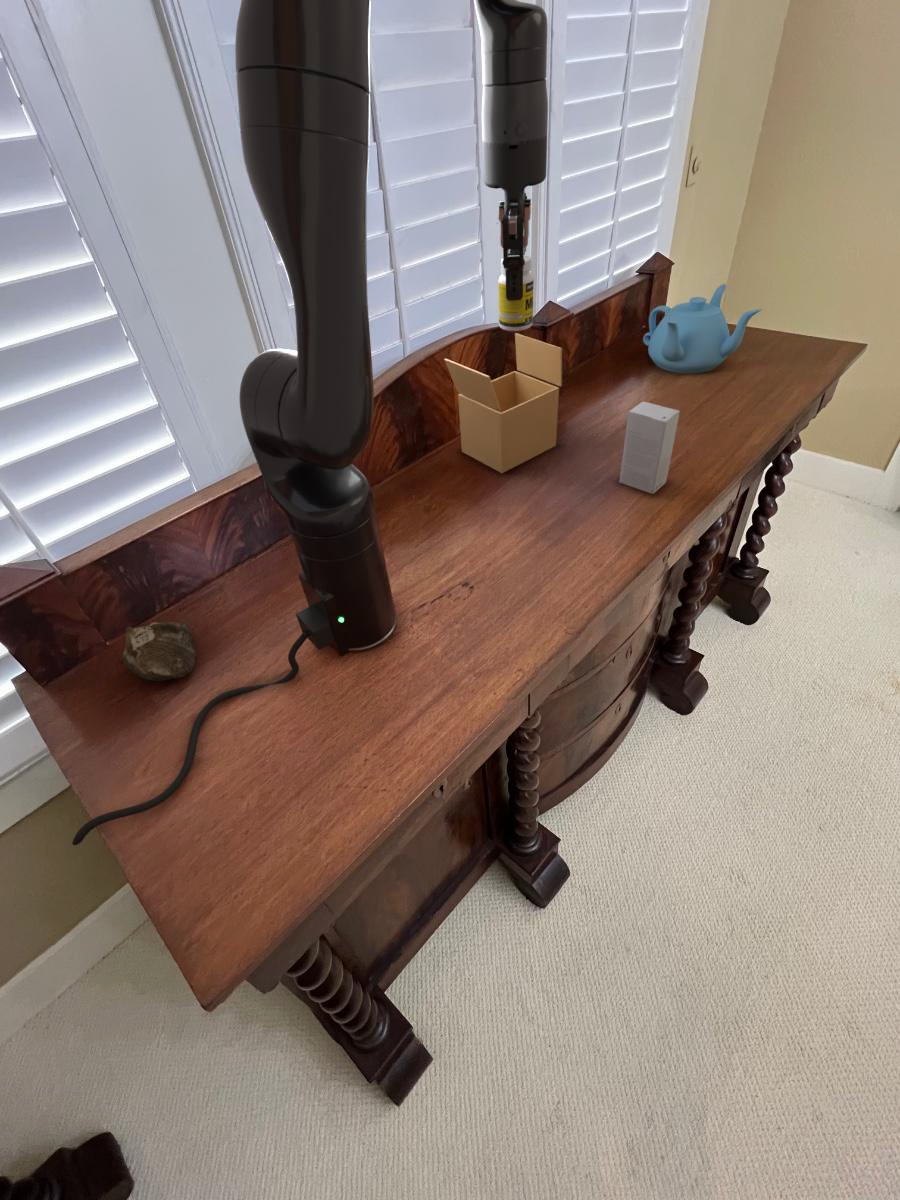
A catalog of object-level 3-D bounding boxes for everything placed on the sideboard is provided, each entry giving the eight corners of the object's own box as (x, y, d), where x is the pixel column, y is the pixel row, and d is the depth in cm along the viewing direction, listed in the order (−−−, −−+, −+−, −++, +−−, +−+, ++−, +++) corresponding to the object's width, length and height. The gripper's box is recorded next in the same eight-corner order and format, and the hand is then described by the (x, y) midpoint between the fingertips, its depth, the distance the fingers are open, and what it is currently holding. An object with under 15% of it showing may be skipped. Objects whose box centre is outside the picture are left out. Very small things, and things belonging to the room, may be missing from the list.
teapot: (748, 372, 117) (766, 307, 109) (657, 383, 117) (669, 318, 108) (711, 342, 130) (725, 281, 121) (629, 351, 129) (637, 291, 121)
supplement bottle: (530, 332, 80) (531, 263, 74) (496, 332, 81) (495, 264, 75) (534, 319, 84) (535, 253, 78) (501, 320, 84) (500, 254, 79)
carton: (501, 473, 96) (500, 373, 85) (461, 451, 103) (455, 356, 91) (558, 444, 102) (564, 347, 91) (517, 425, 108) (518, 332, 97)
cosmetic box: (666, 483, 91) (681, 410, 83) (652, 495, 89) (666, 422, 81) (631, 471, 94) (643, 400, 86) (617, 482, 92) (627, 410, 84)
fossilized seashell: (118, 631, 72) (119, 699, 66) (127, 595, 68) (128, 664, 62) (184, 634, 76) (190, 698, 70) (196, 600, 72) (203, 665, 67)
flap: (501, 409, 89) (499, 411, 89) (458, 390, 95) (457, 391, 95) (489, 376, 84) (488, 377, 84) (445, 358, 90) (444, 359, 90)
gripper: (486, 129, 73) (491, 278, 85) (477, 145, 63) (483, 312, 75) (547, 124, 72) (543, 275, 84) (547, 139, 62) (542, 309, 74)
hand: (515, 292), depth 79 cm, fingers closed on supplement bottle, 4 cm apart
